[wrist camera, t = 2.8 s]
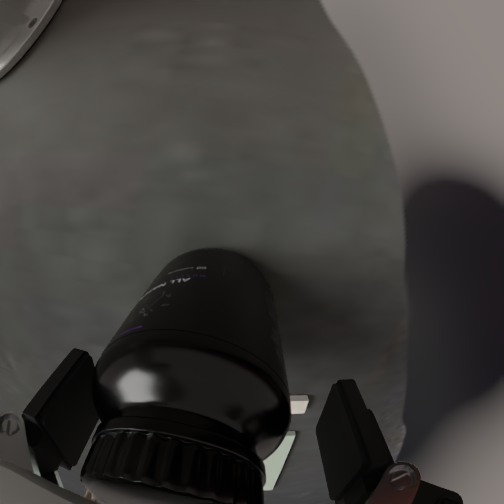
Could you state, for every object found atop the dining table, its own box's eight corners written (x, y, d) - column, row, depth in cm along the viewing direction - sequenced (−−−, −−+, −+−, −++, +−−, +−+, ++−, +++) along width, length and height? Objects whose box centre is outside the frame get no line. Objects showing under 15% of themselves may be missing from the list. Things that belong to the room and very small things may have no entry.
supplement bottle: (178, 223, 14) (21, 389, 3) (294, 276, 15) (375, 485, 4) (141, 324, 16) (57, 491, 4) (241, 364, 17) (241, 545, 5)
